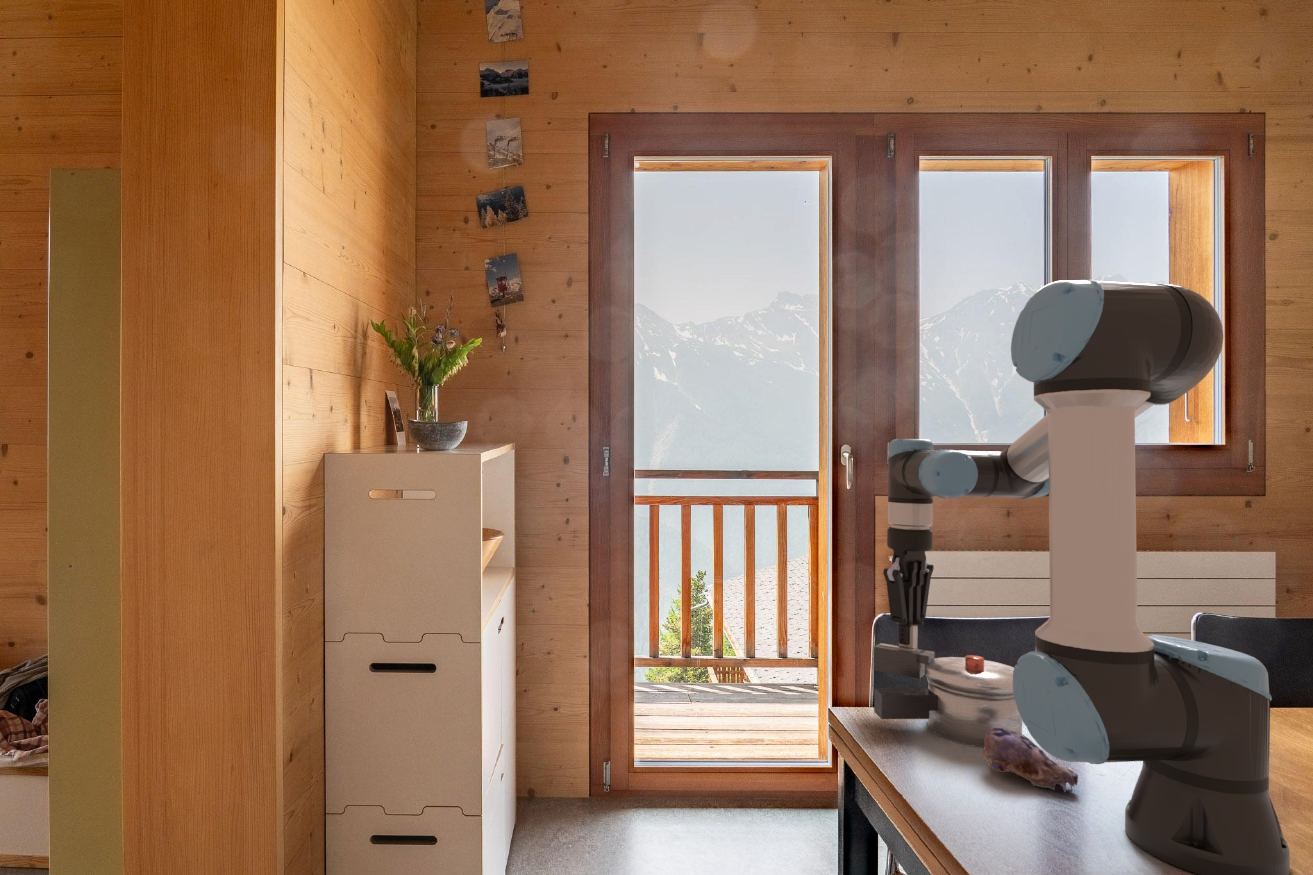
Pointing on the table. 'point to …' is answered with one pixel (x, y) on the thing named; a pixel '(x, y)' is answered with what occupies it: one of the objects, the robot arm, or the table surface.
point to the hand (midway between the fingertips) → (907, 661)
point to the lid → (945, 669)
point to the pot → (951, 711)
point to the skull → (1024, 759)
